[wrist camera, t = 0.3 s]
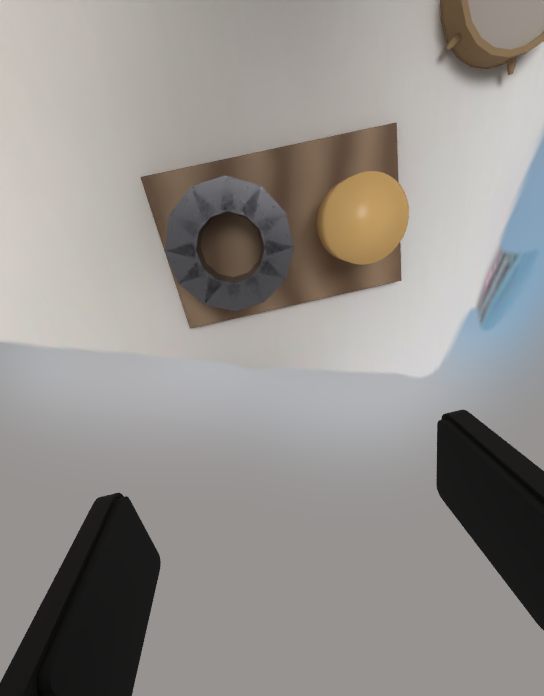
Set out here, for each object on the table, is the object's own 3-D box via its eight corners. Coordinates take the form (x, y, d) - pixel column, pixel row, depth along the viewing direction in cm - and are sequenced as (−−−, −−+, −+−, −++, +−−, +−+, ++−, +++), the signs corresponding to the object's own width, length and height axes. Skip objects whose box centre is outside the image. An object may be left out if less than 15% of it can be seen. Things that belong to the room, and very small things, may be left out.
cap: (345, 164, 31) (373, 148, 25) (388, 220, 34) (425, 218, 27) (293, 222, 33) (307, 221, 26) (338, 271, 35) (362, 281, 29)
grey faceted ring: (224, 155, 30) (223, 145, 26) (307, 243, 34) (316, 245, 30) (151, 249, 32) (139, 252, 28) (236, 321, 36) (236, 331, 32)
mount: (390, 126, 31) (396, 122, 30) (396, 278, 37) (401, 280, 36) (144, 179, 31) (140, 177, 29) (191, 325, 37) (190, 328, 36)
